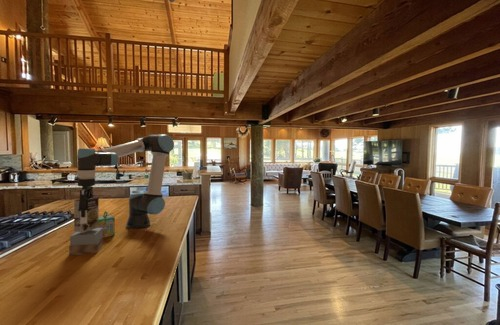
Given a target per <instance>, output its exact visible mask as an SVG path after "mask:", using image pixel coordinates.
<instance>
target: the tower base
mask: <svg viewBox="0 0 500 325" xmlns="http://www.w3.org/2000/svg"><path fill="white" fill-rule="evenodd" d="M103 244H104V238H103V237H102V238H101V239H100V240H99V241H98V242H97V243H96V244H91V245H76V246H70V245H69V247H68V249H69V250H68V255H69V257H71V256H79V255H80V256H81V254H82V255H89V254H98V253H97V252H99V251H100V249H101V248H102V246H103Z"/></svg>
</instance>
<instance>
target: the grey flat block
mask: <svg viewBox="0 0 500 325" xmlns="http://www.w3.org/2000/svg"><path fill="white" fill-rule="evenodd" d="M102 237H103V231H102V228H95V229H92V230H90V231H87V232H84V233H83V232H75V231H74V233H72V234H71V235H70V236H69V240H70V243H69V244H70V245H69V246H76V245H91V244H96V243H97V242H98V241H99V240H100V239H101V238H102Z"/></svg>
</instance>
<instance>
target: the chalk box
mask: <svg viewBox="0 0 500 325" xmlns="http://www.w3.org/2000/svg"><path fill="white" fill-rule="evenodd" d="M115 219H116V218H115V216H113V215H112V214H108V211H106V210H105V211H104V213H103V215H99V227H98V228H102V231H103V239H104V238H109V237H114V236H115V223H116V221H115Z"/></svg>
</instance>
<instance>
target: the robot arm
mask: <svg viewBox="0 0 500 325" xmlns="http://www.w3.org/2000/svg"><path fill="white" fill-rule="evenodd" d="M174 147H175V141H174V140H173V138H172V137H171V136H170V135H168V134H150V135H146V136H143V137H138V138H136V139H135V140H134V141H129V142H126V143H122V144H117V145H114V146H109V147H107V148H102V149H98V150H95V148H78V150H77V155H76V156H77V171H76V174H77V178H78V179H77V186H78V187H81V188H82V189H80V190H79V199H80V201H79V209H78V211H80V224H83V223H87V210H86V208H87V200H88V198H94V187H93V186H95V185H96V167H112V166H117V165H118V163H119V159H120V158H122V157H126V156H128V155H129V156H130V155H132V154H135V153H138V152H139V153H144V152H150V154H151V155H152V159H151V160H152V161H151V165H150V173H149V178H148V185H147V190H146V191H145V192H144V191H143V192H135V193H131V194H130V195H129V197H128V201H129V202H128V204H129V206H128V210H129V211H128V213H129V215H128V219H127V221H126V224H125V225H126V226H125V227H126V229H130V230H138V229H145V228H147V227H149V225H150V226H151V220H150V217H149V215H156V216H157V215H159V214H160V213H161V212H163V211H164V210H165V209H164V208H165V207H166V206H165V205H166V201H165V199H164V198H163V193H162V187H163V180H164V174H165V167H166V161H167V158H168V156H170V152H172V151H173V150H174V149H175V148H174Z"/></svg>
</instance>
